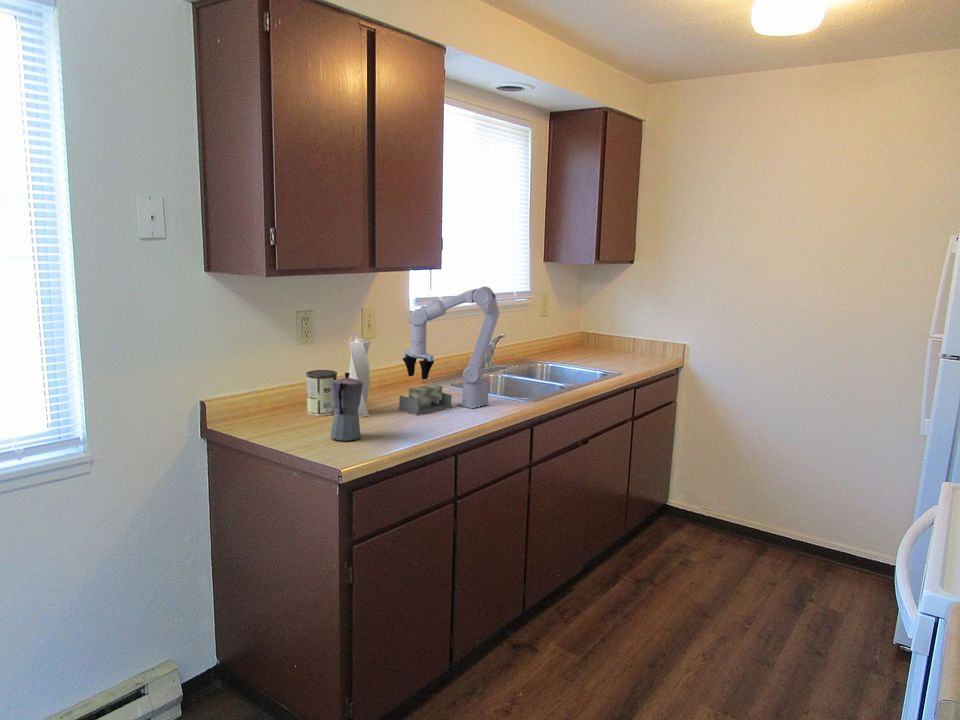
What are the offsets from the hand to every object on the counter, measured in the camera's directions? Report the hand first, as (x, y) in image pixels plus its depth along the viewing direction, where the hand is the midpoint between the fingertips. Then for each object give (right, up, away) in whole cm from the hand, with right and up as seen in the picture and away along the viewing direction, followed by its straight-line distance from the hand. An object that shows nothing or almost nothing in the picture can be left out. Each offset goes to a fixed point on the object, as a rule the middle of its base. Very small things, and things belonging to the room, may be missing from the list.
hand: (417, 377), depth 249 cm
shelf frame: (+4, -11, -9) cm, 15 cm away
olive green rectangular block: (+4, -8, -9) cm, 13 cm away
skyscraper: (-19, -13, -19) cm, 30 cm away
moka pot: (-17, -17, -48) cm, 54 cm away
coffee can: (-32, -12, -18) cm, 38 cm away
